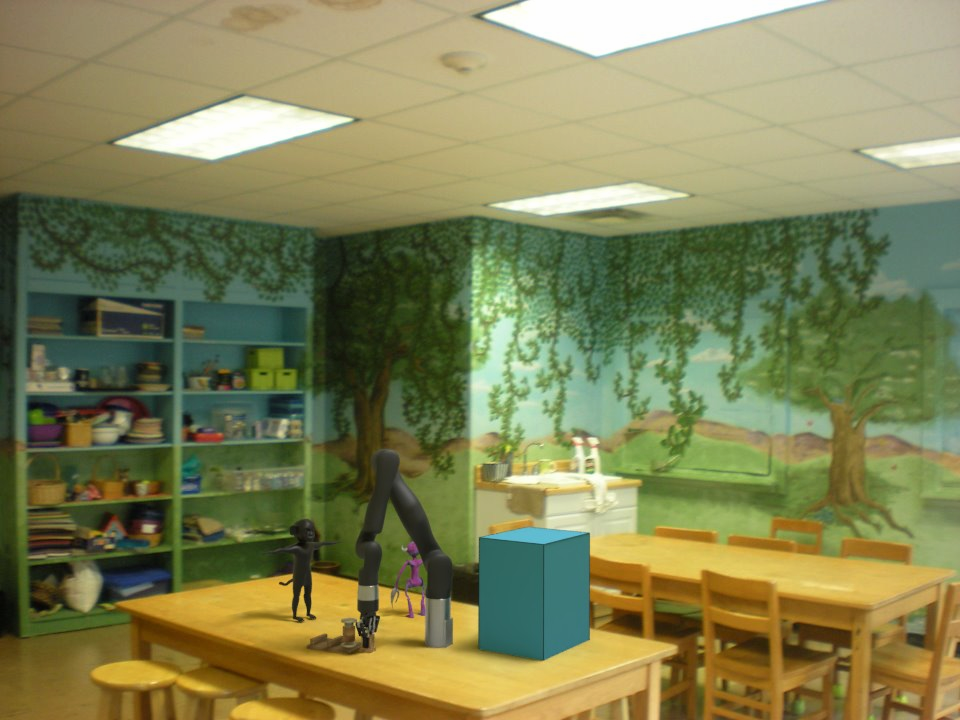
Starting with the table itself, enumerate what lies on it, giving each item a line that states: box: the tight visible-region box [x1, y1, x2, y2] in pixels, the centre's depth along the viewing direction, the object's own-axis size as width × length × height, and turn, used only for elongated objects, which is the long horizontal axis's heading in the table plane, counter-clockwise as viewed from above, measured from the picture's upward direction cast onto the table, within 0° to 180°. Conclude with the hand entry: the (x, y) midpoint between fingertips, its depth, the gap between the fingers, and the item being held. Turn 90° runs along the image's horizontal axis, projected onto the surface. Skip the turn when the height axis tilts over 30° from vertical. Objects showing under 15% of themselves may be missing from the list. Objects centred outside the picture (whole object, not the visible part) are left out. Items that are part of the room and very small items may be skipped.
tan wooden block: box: [359, 633, 377, 654], centre depth 344 cm, size 4×4×6 cm
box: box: [477, 526, 591, 662], centre depth 353 cm, size 27×33×40 cm
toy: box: [390, 541, 426, 619], centre depth 400 cm, size 19×9×30 cm, turn 130°
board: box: [306, 617, 361, 655], centre depth 349 cm, size 18×12×10 cm, turn 66°
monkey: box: [261, 518, 341, 623], centre depth 396 cm, size 40×20×40 cm, turn 140°
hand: (367, 646), depth 344 cm, fingers closed on tan wooden block, 2 cm apart
